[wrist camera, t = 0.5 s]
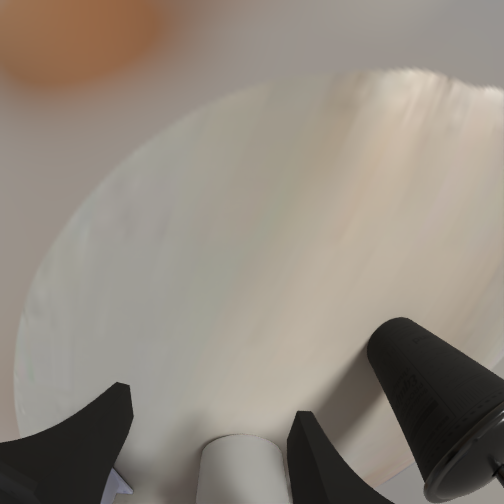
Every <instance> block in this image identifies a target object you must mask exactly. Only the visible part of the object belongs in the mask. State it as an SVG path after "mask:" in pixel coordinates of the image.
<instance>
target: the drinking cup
mask: <svg viewBox="0 0 504 504" xmlns="http://www.w3.org/2000/svg"><path fill="white" fill-rule="evenodd" d="M367 355H368V359H369V361H370V363H371V365H372V367H373V369H374V371H375V373H376V376H377V378H378V380H379V382H380V384H381V386H382V388H383V390H384V392H385V394H386V396H387V398H388V401H389V403H390V405H391V407H392V409H393V411H394V413H395V416H396V418H397V420H398V422H399V424H400V427H401V429H402V431H403V433H404V435H405V438H406V440H407V442H408V445H409V447H410V449H411V451H412V454H413V456H414V458H415V461H416V463H417V465H418V468H419V470H420V472H421V475H422V477H423V480H424V482H425V485H424V496H425V497H426V499H427V500H428V501H429V502H431V503H442V502H447V501H450V500H452V499H455V498H457V497H461V496H464V495H467V494H470V493H472V492H474V491H476V490H478V489H480V488H482V487H484V486H485V485H487V484H488V483H490V482H491V481H492V480H493V479H495V478H497V479H498V480H499V482H500V483H501V485H502V486H503V487H504V380H503V379H502V378H500V377H499V376H497V375H496V374H494V373H493V372H491V371H490V370H488V369H487V368H485V367H484V366H482V365H481V364H479V363H478V362H476V361H475V360H473V359H471V358H470V357H468V356H467V355H465V354H464V353H462V352H461V351H459V350H458V349H456V348H454V347H453V346H451V345H450V344H448V343H447V342H445V341H444V340H442V339H440V338H439V337H437V336H436V335H434V334H433V333H431V332H429V331H428V330H426V329H425V328H423V327H421V326H420V325H418V324H417V323H415V322H413V321H412V320H410V319H408V318H404V317H399V318H394V319H391V320H389V321H387V322H385V323H384V324H382V325H381V326H380V327H379V328H378V329H377V330H376V331H375V332H374V334H373V335H372V337H371V339H370V341H369V344H368V348H367Z"/></svg>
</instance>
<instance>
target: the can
mask: <svg viewBox="0 0 504 504" xmlns="http://www.w3.org/2000/svg"><path fill="white" fill-rule="evenodd" d="M195 504H289V497H288V490H287V484H286V477H285V470H284V464H283V457H282V452H281V451H280V449H279V448H278V446H277V445H275V444H274V443H272V442H271V441H269V440H266V439H263V438H260V437H258V436H254V435H248V434H233V435H229V436H225V437H222V438H219V439H216V440H215V441H213V442H211V443H209V444H208V445H207V446H206V447H205V448H204V449H203V451H202V456H201V462H200V470H199V478H198V486H197V495H196V503H195Z"/></svg>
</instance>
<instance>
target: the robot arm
mask: <svg viewBox="0 0 504 504" xmlns="http://www.w3.org/2000/svg"><path fill="white" fill-rule="evenodd" d="M133 417H134V415H133V408H132V401H131V393H130V385H126V384H123V383H119V382H116V383H115V384H113V385H112V386H111V387H110V388H109V389H107V390H106V391H105V392H104V393H102V394H101V395H100V396H99V397H97V398H96V399H95V400H94V401H92V402H91V403H90V404H88V405H87V406H86V407H84V408H83V409H82V410H80V411H79V412H77V413H76V414H74V415H73V416H71V417H69V418H68V419H66V420H64V421H63V422H61V423H59V424H57V425H55V426H53V427H51V428H49V429H47V430H44V431H42V432H39V433H37V434H34V435H32V436H28V437H25V438H22V439H18V440H14V441H8V442H2V443H0V504H113V501H114V498H115V496H116V493H122V494H133V490H132V489H131V488H130V487H129V486H128V485H127V483H126V482H125V481H124V480H123V479H122V478H121V477H120V476H119V474H118V473H117V472H116V471H115V470H114V469H113V465H114V463H115V461H116V459H117V457H118V455H119V452H120V450H121V448H122V446H123V444H124V442H125V440H126V438H127V435H128V433H129V430H130V427H131V423H132V420H133ZM287 461H288V468H289V475H290V482H291V489H292V496H293V504H394V503H393V502H391V501H389V500H388V499H386V498H385V497H383V496H382V495H381V494H379V493H378V492H377V491H375V490H374V489H373V488H372V487H370V486H369V485H368V484H367V483H365V482H364V481H363V480H362V479H361V478H360V477H359V476H358V475H357V474H356V473H355V472H354V471H353V470H352V469H351V468H350V467H349V466H348V464H347V463H346V462H345V461H344V460H343V458H342V457H341V456H340V455H339V453H338V452H337V451H336V449H335V448H334V446H333V445H332V444H331V442H330V441H329V439H328V438H327V436H326V435H325V433H324V431H323V430H322V428H321V427H320V425H319V423H318V422H317V420H316V418H315V416H314V414H313V413H312V412H311V411H297V413H296V416H295V419H294V422H293V425H292V428H291V430H290V433H289V436H288V439H287Z"/></svg>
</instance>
